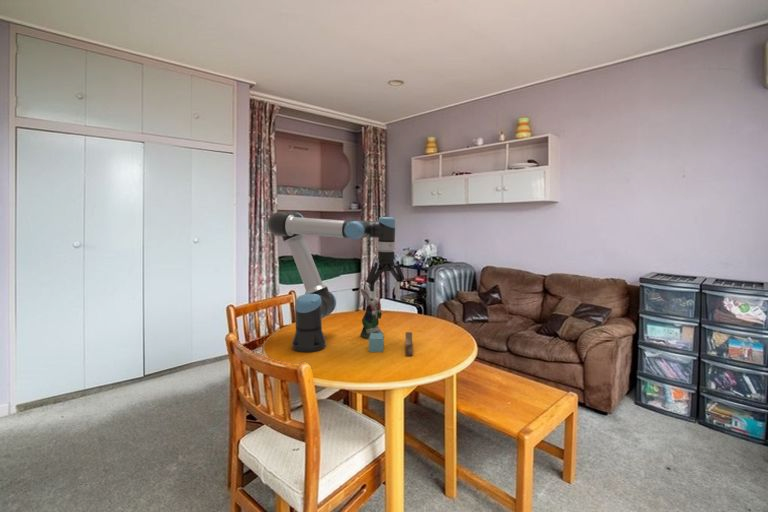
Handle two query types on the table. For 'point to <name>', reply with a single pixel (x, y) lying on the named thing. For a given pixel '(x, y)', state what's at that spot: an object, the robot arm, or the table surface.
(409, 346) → the board
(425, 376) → the table surface
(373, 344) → the block
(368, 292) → the figurine
